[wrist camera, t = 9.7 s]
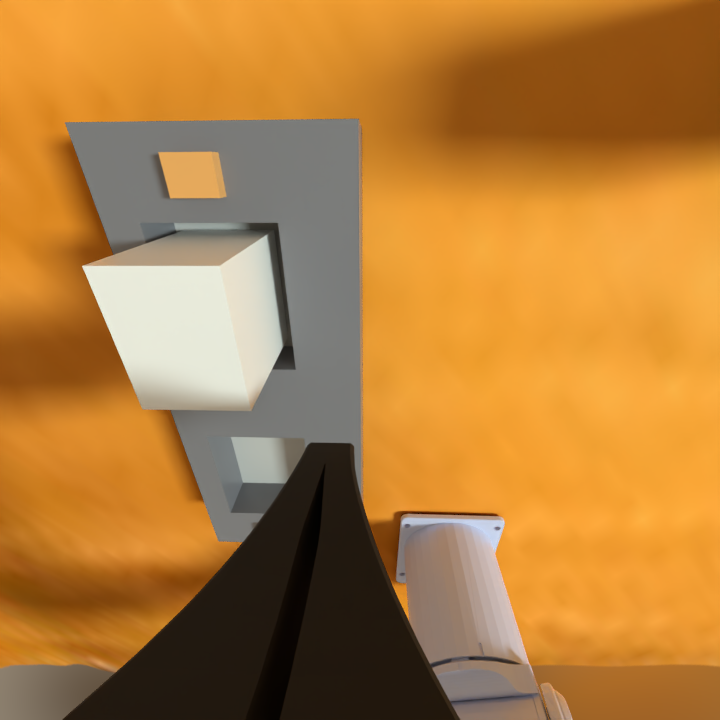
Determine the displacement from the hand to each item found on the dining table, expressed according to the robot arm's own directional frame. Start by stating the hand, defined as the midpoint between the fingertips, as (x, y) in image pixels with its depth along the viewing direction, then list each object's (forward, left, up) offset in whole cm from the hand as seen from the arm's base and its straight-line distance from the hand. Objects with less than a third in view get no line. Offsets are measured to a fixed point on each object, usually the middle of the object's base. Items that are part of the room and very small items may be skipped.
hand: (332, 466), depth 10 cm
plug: (+3, +5, -9) cm, 10 cm away
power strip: (-3, +4, -10) cm, 11 cm away
